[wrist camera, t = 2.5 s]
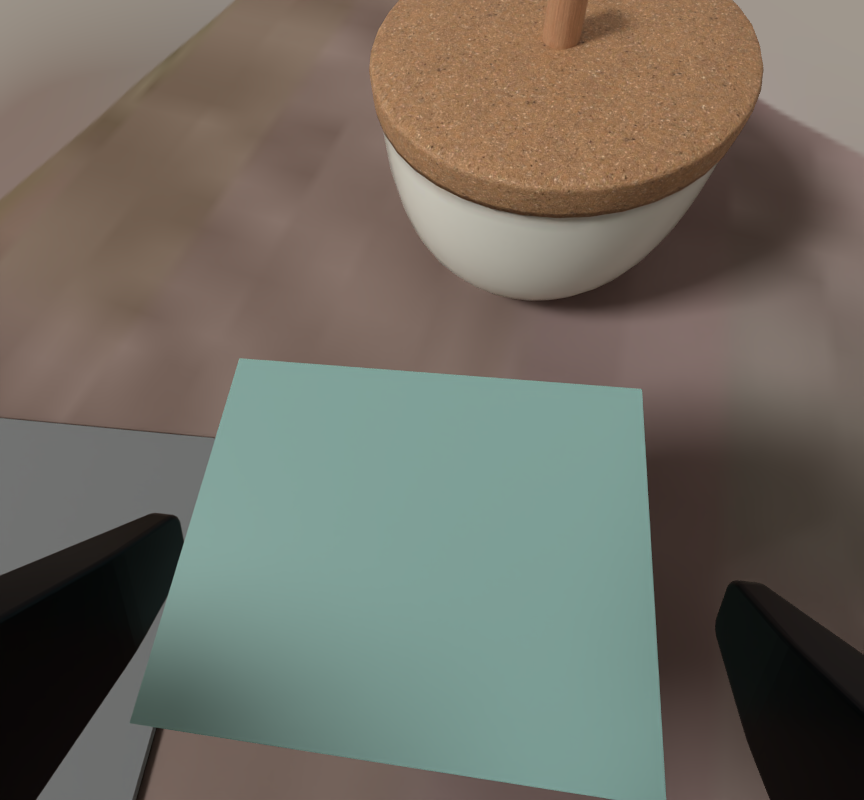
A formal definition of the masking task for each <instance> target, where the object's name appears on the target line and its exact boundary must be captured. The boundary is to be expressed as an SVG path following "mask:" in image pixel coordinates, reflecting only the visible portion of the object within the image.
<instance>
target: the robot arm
mask: <svg viewBox="0 0 864 800" xmlns="http://www.w3.org/2000/svg"><path fill="white" fill-rule="evenodd" d="M183 544H184V538H183V533H182V528H181V523H180V520H179V519H178V517H177V516H175V515H171V514H162V513H151V514H148V515H146V516H143V517H141V518H138V519H136V520H133V521H131V522H129V523H126V524H124V525H121V526H119V527H116V528H114V529H112V530H109V531H107V532H104V533H102V534H99V535H97V536H95V537H92V538H90V539H87V540H85V541H82V542H80V543H78V544H75V545H73V546H70V547H68V548H65V549H63V550H61V551H58V552H56V553H53V554H51V555H48V556H46V557H44V558H41V559H39V560H36V561H34V562H31V563H29V564H27V565H24V566H22V567H19V568H17V569H14V570H12V571H10V572H7V573H5V574H2V575H0V800H36V799H37V798H38V796H39V795H40V794H41V792H42V791H43V789H44V788H45V786H46V785H47V783H48V782H49V780H50V779H51V777H52V776H53V774H54V773H55V771H56V770H57V769H58V767H59V766H60V764H61V763H62V761H63V760H64V758H65V757H66V755H67V754H68V752H69V751H70V749H71V748H72V746H73V745H74V744H75V742H76V741H77V739H78V738H79V736H80V735H81V733H82V732H83V730H84V729H85V727H86V726H87V724H88V723H89V721H90V720H91V718H92V717H93V716H94V714H95V713H96V711H97V710H98V708H99V707H100V705H101V704H102V702H103V701H104V699H105V698H106V696H107V695H108V693H109V692H110V691H111V689H112V688H113V686H114V685H115V683H116V682H117V680H118V679H119V677H120V676H121V674H122V673H123V671H124V670H125V668H126V667H127V665H128V664H129V662H130V661H131V659H132V658H133V656H134V655H135V653H136V652H137V650H138V648H139V646H140V645H141V643H142V641H143V640H144V638H145V636H146V635H147V633H148V631H149V629H150V627H151V625H152V624H153V622H154V620H155V618H156V616H157V615H158V613H159V611H160V609H161V607H162V606H163V604H164V602H165V600H166V598H167V597H168V594H169V590H170V587H171V584H172V581H173V577H174V574H175V571H176V567H177V564H178V561H179V557H180V554H181V551H182V547H183ZM715 631H716V637H717V640H718V644H719V647H720V651H721V654H722V658H723V661H724V665H725V668H726V671H727V675H728V678H729V682H730V685H731V689H732V692H733V696H734V699H735V702H736V706H737V709H738V713H739V716H740V720H741V723H742V726H743V729H744V732H745V736H746V739H747V742H748V745H749V747H750V750H751V753H752V755H753V758H754V761H755V763H756V766H757V768H758V771H759V773H760V776H761V778H762V781H763V783H764V786H765V788H766V791H767V793H768V796H769V798H770V800H864V655H863V654H862V653H860V652H859V651H857V650H856V649H855V648H853V647H852V646H850V645H849V644H847V643H846V642H845V641H843V640H842V639H840V638H839V637H837V636H836V635H835V634H833V633H832V632H830V631H829V630H827V629H826V628H825V627H823V626H822V625H820V624H819V623H818V622H816V621H815V620H813V619H812V618H810V617H809V616H808V615H806V614H805V613H803V612H802V611H800V610H799V609H798V608H796V607H795V606H793V605H792V604H791V603H789V602H788V601H786V600H785V599H783V598H782V597H781V596H779V595H778V594H776V593H775V592H773V591H772V590H771V589H769V588H768V587H766V586H765V585H763V584H760V583H755V582H746V581H738V580H737V581H732V582H731V583H730V584H729V585H728V587H727V589H726V592H725V595H724V598H723V601H722V604H721V607H720V609H719V612H718V615H717V618H716V624H715Z"/></svg>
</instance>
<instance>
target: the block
mask: <svg viewBox="0 0 864 800" xmlns="http://www.w3.org/2000/svg"><path fill="white" fill-rule="evenodd" d="M130 723H131V724H137V725H144V726H150V727H156V728H163V729H169V730H176V731H182V732H188V733H195V734H201V735H207V736H214V737H220V738H226V739H233V740H239V741H245V742H252V743H258V744H264V745H271V746H277V747H283V748H290V749H296V750H303V751H309V752H315V753H322V754H328V755H334V756H341V757H347V758H353V759H360V760H366V761H372V762H379V763H385V764H391V765H398V766H404V767H410V768H417V769H423V770H430V771H436V772H442V773H449V774H455V775H461V776H468V777H474V778H480V779H487V780H493V781H499V782H506V783H512V784H518V785H525V786H531V787H537V788H544V789H550V790H557V791H563V792H569V793H576V794H582V795H588V796H595V797H601V798H607V799H614V800H666V788H665V771H664V754H663V738H662V721H661V704H660V687H659V670H658V653H657V636H656V619H655V603H654V586H653V569H652V552H651V535H650V518H649V501H648V484H647V468H646V451H645V434H644V417H643V400H642V389H634V388H621V387H608V386H594V385H581V384H568V383H555V382H542V381H529V380H516V379H502V378H489V377H476V376H463V375H450V374H437V373H424V372H411V371H397V370H384V369H371V368H358V367H345V366H332V365H319V364H305V363H292V362H279V361H266V360H253V359H239V362H238V365H237V368H236V372H235V375H234V378H233V382H232V385H231V388H230V392H229V395H228V398H227V402H226V405H225V408H224V412H223V415H222V418H221V422H220V425H219V428H218V431H217V435H216V438H215V441H214V445H213V448H212V451H211V455H210V458H209V461H208V465H207V468H206V471H205V475H204V478H203V481H202V484H201V488H200V491H199V494H198V498H197V501H196V504H195V508H194V511H193V514H192V518H191V521H190V524H189V528H188V531H187V534H186V537H185V541H184V544H183V547H182V551H181V554H180V557H179V561H178V564H177V567H176V571H175V574H174V577H173V581H172V584H171V587H170V590H169V594H168V597H167V600H166V604H165V607H164V610H163V614H162V617H161V620H160V624H159V627H158V630H157V634H156V637H155V640H154V644H153V647H152V650H151V653H150V657H149V660H148V663H147V667H146V670H145V673H144V677H143V680H142V683H141V687H140V690H139V693H138V697H137V700H136V703H135V706H134V710H133V713H132V716H131V720H130Z"/></svg>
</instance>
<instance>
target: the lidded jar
mask: <svg viewBox="0 0 864 800" xmlns="http://www.w3.org/2000/svg"><path fill="white" fill-rule="evenodd" d="M369 72H370V78H371V85H372V91H373V98H374V103H375V108H376V113H377V116H378V119H379V121H380V124H381V126H382V129H383V131H384V137H385V144H386V149H387V154H388V159H389V163H390V168H391V172H392V175H393V178H394V181H395V184H396V187H397V191H398V194H399V196H400V199H401V201H402V204H403V206H404V209H405V211H406V213H407V215H408V217H409V220H410V222H411V224H412V226H413V228H414V229H415V231H416V232H417V234H418V235H419V237H420V239H421V240H422V242H423V243H424V244H425V245H426V247H427V248H428V249H429V251H430V252H431V253H432V254H433V255H434V256H435V257H436V258H437V259H438V260H439V262H440V263H441V264H442V265H444V266H445V267H446V268H447V269H449V270H450V271H451V272H453V273H454V274H455V275H456V276H458V277H459V278H461V279H462V280H464V281H466V282H468V283H470V284H471V285H473V286H475V287H477V288H479V289H482V290H484V291H487V292H489V293H492V294H495V295H499V296H503V297H507V298H511V299H520V300H530V301H534V300H553V299H560V298H566V297H570V296H573V295H577V294H580V293H583V292H587V291H590V290H593V289H596V288H598V287H600V286H602V285H604V284H606V283H608V282H610V281H612V280H614V279H615V278H617V277H618V276H620V275H621V274H623V273H624V272H626V271H627V270H629V269H630V268H632V267H633V266H635V265H636V264H638V263H639V262H641V261H642V260H643V259H644V258H645V257H646V256H647V255H648V254H649V253H650V252H651V251H652V250H653V249H654V248H655V247H656V246H657V245H658V244H659V243H660V242H661V241H662V240H663V239H664V238H665V237H666V236H667V235H668V234H669V233H670V232H671V231H672V229H673V228H674V227H675V226H676V224H677V223H678V222H679V220H680V219H681V218H682V217H683V215H684V214H685V213H686V211H687V210H688V209H689V207H690V206H691V204H692V203H693V201H694V200H695V198H696V197H697V196H698V194H699V193H700V191H701V189H702V188H703V186H704V185H705V183H706V181H707V180H708V178H709V177H710V175H711V174H712V172H713V170H714V169H715V167H716V165H717V163H718V162H719V161H720V160H721V159H722V158H723V157H724V155H725V154H726V153H727V151H728V150H729V148H730V147H731V145H732V144H733V142H734V141H735V140H736V138H737V137H738V135H739V134H740V132H741V131H742V129H743V127H744V126H745V124H746V122H747V121H748V119H749V117H750V115H751V114H752V112H753V110H754V107H755V104H756V102H757V99H758V97H759V94H760V91H761V86H762V76H763V62H762V57H761V51H760V46H759V42H758V39H757V37H756V34H755V31H754V29H753V26H752V24H751V23H750V21H749V20H748V19H747V17H746V16H745V15H744V13H743V12H742V10H741V9H740V8H739V7H738V5H736V3H734V1H733V0H399V1H398V2H397V4H396V5H395V6H394V7H393V8H392V10H391V11H390V12H389V14H388V15H387V17H386V18H385V20H384V22H383V23H382V25H381V27H380V28H379V30H378V33H377V35H376V38H375V41H374V44H373V47H372V50H371V58H370V69H369Z"/></svg>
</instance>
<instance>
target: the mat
mask: <svg viewBox="0 0 864 800" xmlns="http://www.w3.org/2000/svg"><path fill="white" fill-rule="evenodd" d="M214 441H215V438H207V437H196V436H185V435H175V434H164V433H153V432H143V431H132V430H122V429H111V428H100V427H90V426H79V425H68V424H58V423H47V422H36V421H26V420H15V419H4V418H0V575H2V574H5V573H7V572H10V571H12V570H14V569H17V568H19V567H22V566H24V565H27V564H29V563H31V562H34V561H36V560H39V559H41V558H44V557H46V556H48V555H51V554H53V553H56V552H58V551H61V550H63V549H65V548H68V547H70V546H73V545H75V544H78V543H80V542H82V541H85V540H87V539H90V538H92V537H95V536H97V535H99V534H102V533H104V532H107V531H109V530H112V529H114V528H116V527H119V526H121V525H124V524H126V523H129V522H131V521H133V520H136V519H138V518H141V517H143V516H146V515H148V514H151V513H162V514H171V515H175V516H177V517H178V519H179V520H180V523H181V528H182V533H183V538H184V541H185V537H186V534H187V531H188V528H189V524H190V521H191V518H192V514H193V511H194V508H195V504H196V501H197V498H198V494H199V491H200V488H201V484H202V481H203V478H204V475H205V471H206V468H207V465H208V461H209V458H210V455H211V451H212V448H213V445H214ZM166 600H167V598H166ZM166 600H165V602H164V604H163V606H162V607H161V609H160V611H159V613H158V615H157V616H156V618H155V620H154V622H153V624H152V625H151V627H150V629H149V631H148V633H147V635H146V636H145V638H144V640H143V641H142V643H141V645H140V646H139V648H138V650H137V652H136V653H135V655H134V656H133V658H132V659H131V661H130V662H129V664H128V665H127V667H126V668H125V670H124V671H123V673H122V674H121V676H120V677H119V679H118V680H117V682H116V683H115V685H114V686H113V688H112V689H111V691H110V692H109V693H108V695H107V696H106V698H105V699H104V701H103V702H102V704H101V705H100V707H99V708H98V710H97V711H96V713H95V714H94V716H93V717H92V718H91V720H90V721H89V723H88V724H87V726H86V727H85V729H84V730H83V732H82V733H81V735H80V736H79V738H78V739H77V741H76V742H75V744H74V745H73V746H72V748H71V749H70V751H69V752H68V754H67V755H66V757H65V758H64V760H63V761H62V763H61V764H60V766H59V767H58V769H57V770H56V771H55V773H54V774H53V776H52V777H51V779H50V780H49V782H48V783H47V785H46V786H45V788H44V789H43V791H42V792H41V794H40V795H39V796H38V798H37V799H36V800H136V798H137V794H138V791H139V787H140V784H141V780H142V777H143V773H144V769H145V766H146V762H147V759H148V755H149V752H150V748H151V745H152V741H153V738H154V734H155V731H156V727H150V726H144V725H137V724H131V723H130V720H131V716H132V713H133V710H134V706H135V703H136V700H137V697H138V693H139V690H140V687H141V683H142V680H143V677H144V673H145V670H146V667H147V663H148V660H149V657H150V653H151V650H152V647H153V644H154V640H155V637H156V634H157V630H158V627H159V624H160V620H161V617H162V614H163V610H164V607H165V604H166Z"/></svg>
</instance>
